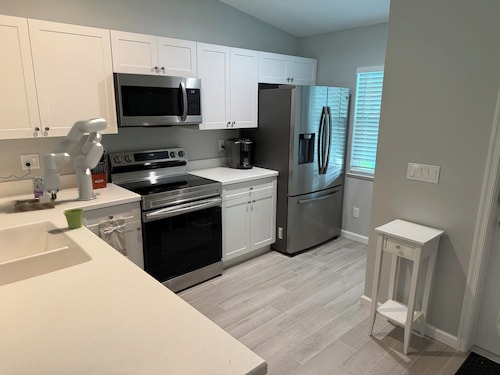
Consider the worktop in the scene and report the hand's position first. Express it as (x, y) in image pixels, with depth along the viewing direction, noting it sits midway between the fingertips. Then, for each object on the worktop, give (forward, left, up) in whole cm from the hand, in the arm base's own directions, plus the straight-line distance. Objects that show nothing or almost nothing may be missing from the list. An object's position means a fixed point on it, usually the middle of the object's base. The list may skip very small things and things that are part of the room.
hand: (54, 199), depth 228 cm
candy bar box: (+8, -31, -4) cm, 32 cm away
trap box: (+10, 0, -4) cm, 11 cm away
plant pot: (-9, +66, -4) cm, 67 cm away
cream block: (+5, 0, -1) cm, 5 cm away
